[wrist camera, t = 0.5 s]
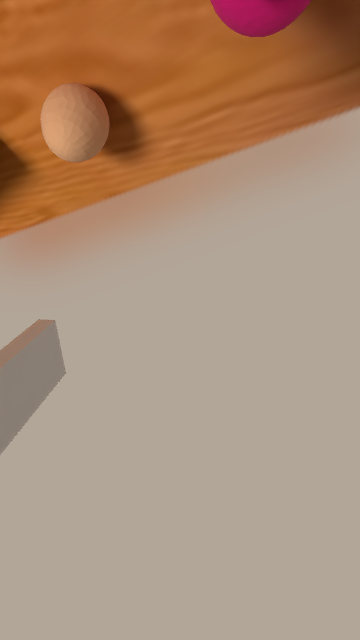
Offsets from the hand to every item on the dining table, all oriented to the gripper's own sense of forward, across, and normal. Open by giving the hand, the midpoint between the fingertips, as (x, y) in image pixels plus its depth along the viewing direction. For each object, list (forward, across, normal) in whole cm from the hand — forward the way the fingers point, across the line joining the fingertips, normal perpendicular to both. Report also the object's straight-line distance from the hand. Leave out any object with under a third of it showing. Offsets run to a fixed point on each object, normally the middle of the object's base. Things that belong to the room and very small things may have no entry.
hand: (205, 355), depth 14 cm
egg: (+30, -16, +14) cm, 36 cm away
